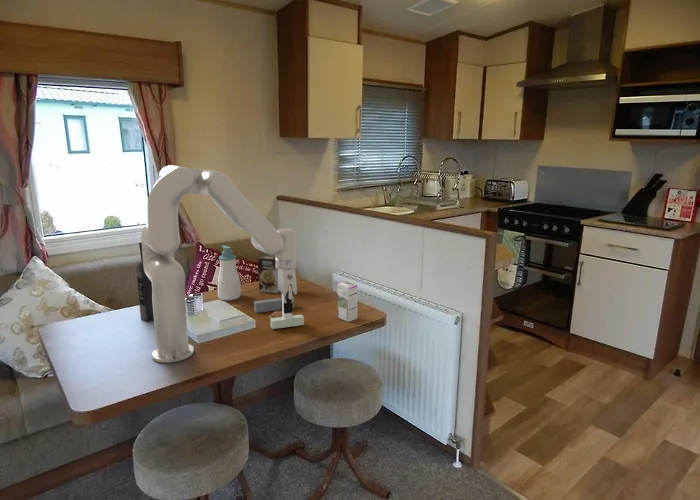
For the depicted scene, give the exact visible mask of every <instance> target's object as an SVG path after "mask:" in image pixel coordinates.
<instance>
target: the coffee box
mask: <svg viewBox="0 0 700 500" xmlns="http://www.w3.org/2000/svg"><path fill="white" fill-rule="evenodd" d="M257 260H258V262H257V263H258V264H257V265H258V292H259V293H269V294H278V293H279V292H280V290H279V288H278V269H277V268H276V265H275V255H263V254H262V255H261V256H259V257H258V258H257Z"/></svg>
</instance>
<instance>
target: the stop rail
mask: <svg viewBox="0 0 700 500" xmlns="http://www.w3.org/2000/svg"><path fill="white" fill-rule="evenodd" d="M281 300H282V299H281V297H278V298H271V299H270V298H269V299H262V300H254V301H253V305H254V307H253V308H254V313H256V314H257V313H258V314H259V313H265V312H276V311H282V309H281ZM292 301H293V302H292V303H293V309H294V308H295V298H294V297H293V299H292Z"/></svg>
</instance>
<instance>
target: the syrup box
mask: <svg viewBox="0 0 700 500" xmlns="http://www.w3.org/2000/svg"><path fill="white" fill-rule="evenodd" d="M358 286H359V285H358V283H357V282H356V283H355V282H353V281H349V280H345V281H341V282H339V283H337V319H339V320H342V321H344V322H347V323H350V322H352V321H355V320H357V319H358V294H359V293H358V292H359V289H358Z"/></svg>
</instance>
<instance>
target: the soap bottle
mask: <svg viewBox="0 0 700 500" xmlns="http://www.w3.org/2000/svg"><path fill="white" fill-rule="evenodd" d="M221 247H222V248H223V251H222V250H221V255H220V256H218V259H219V272H218V277H217V298H218V299H219V300H222V301H235V300H237V299H240V298H241V295H242V293H241V292H242V291H241V288H242V287H241V281H240V276H239V273H238V268H237V265H236V259H237V256H236V255H234V254H233V253H234V252H233V250H232V249H231V246H229V245H228V246H227V245H221Z"/></svg>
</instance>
